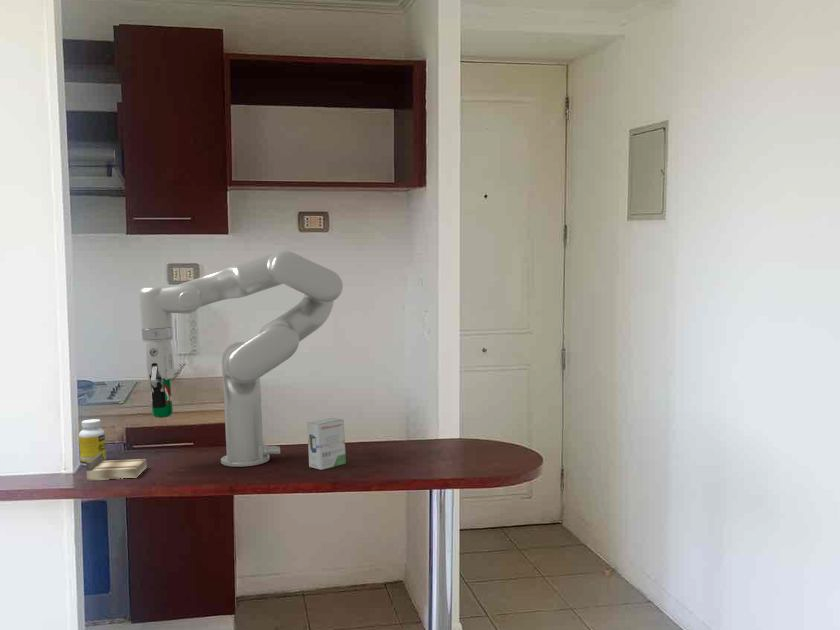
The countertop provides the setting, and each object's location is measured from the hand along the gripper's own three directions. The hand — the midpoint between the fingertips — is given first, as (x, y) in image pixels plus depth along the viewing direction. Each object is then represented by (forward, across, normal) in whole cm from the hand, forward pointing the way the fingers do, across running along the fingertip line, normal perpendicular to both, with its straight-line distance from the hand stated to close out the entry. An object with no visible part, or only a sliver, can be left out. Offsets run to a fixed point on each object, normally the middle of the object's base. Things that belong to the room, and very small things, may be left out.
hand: (162, 404), depth 224 cm
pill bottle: (+17, +10, +22) cm, 29 cm away
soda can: (+3, 0, 0) cm, 3 cm away
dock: (+17, -3, +12) cm, 21 cm away
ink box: (+18, -3, -42) cm, 45 cm away
